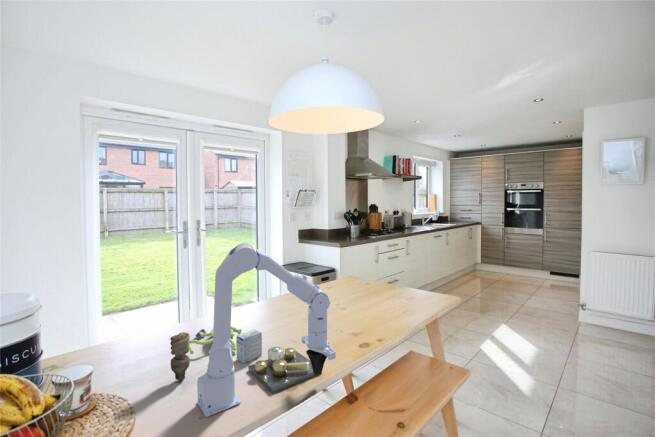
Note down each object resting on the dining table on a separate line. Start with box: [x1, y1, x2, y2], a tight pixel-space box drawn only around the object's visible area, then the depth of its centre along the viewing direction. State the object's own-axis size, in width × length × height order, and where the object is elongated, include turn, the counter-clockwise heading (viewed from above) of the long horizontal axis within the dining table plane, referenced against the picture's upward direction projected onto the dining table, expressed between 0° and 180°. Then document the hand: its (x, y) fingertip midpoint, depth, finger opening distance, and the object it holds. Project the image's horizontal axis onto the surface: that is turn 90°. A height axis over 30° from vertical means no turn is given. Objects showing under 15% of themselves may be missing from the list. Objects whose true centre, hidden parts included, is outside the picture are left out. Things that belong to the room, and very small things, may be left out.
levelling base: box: [248, 346, 317, 394], centre depth 105 cm, size 18×16×7 cm
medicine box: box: [235, 329, 263, 364], centre depth 115 cm, size 8×4×9 cm, turn 141°
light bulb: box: [169, 331, 191, 382], centre depth 100 cm, size 6×6×15 cm
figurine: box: [189, 325, 243, 356], centre depth 125 cm, size 18×27×6 cm
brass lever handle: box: [273, 360, 309, 376], centre depth 102 cm, size 11×4×3 cm, turn 98°
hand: (317, 373), depth 98 cm, fingers closed
